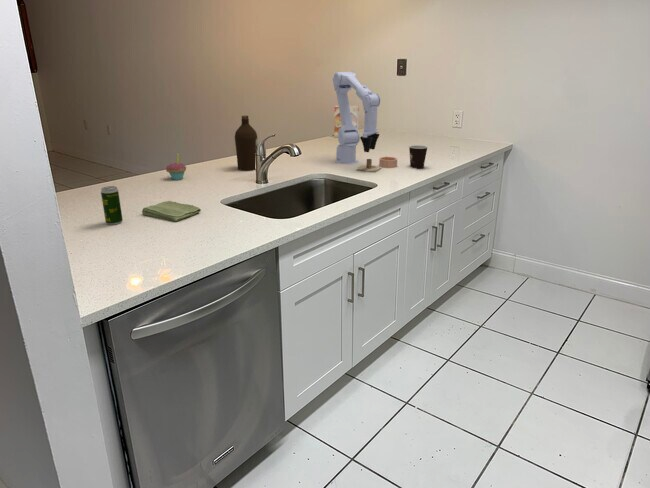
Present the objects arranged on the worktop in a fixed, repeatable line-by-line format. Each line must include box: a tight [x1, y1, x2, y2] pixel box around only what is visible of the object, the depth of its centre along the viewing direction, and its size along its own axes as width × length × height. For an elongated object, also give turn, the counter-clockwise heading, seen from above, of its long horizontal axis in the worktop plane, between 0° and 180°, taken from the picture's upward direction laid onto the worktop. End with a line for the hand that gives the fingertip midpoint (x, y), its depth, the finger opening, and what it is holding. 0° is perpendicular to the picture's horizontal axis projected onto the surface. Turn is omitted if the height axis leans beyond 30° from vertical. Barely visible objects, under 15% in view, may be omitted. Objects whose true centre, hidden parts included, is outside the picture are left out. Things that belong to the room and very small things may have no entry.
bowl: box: [378, 156, 398, 169], centre depth 250 cm, size 8×8×4 cm
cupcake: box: [165, 152, 187, 181], centre depth 225 cm, size 9×8×12 cm
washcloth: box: [141, 200, 202, 223], centre depth 180 cm, size 13×18×3 cm
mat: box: [355, 167, 383, 174], centre depth 244 cm, size 10×10×1 cm
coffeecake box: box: [333, 104, 360, 138], centre depth 328 cm, size 15×7×20 cm, turn 81°
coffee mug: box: [408, 144, 428, 170], centre depth 249 cm, size 12×9×10 cm
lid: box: [358, 158, 380, 173], centre depth 243 cm, size 10×10×5 cm
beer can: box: [100, 185, 123, 226], centre depth 169 cm, size 5×5×12 cm
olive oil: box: [234, 114, 258, 172], centre depth 242 cm, size 11×11×25 cm
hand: (369, 150), depth 240 cm, fingers open, 7 cm apart
